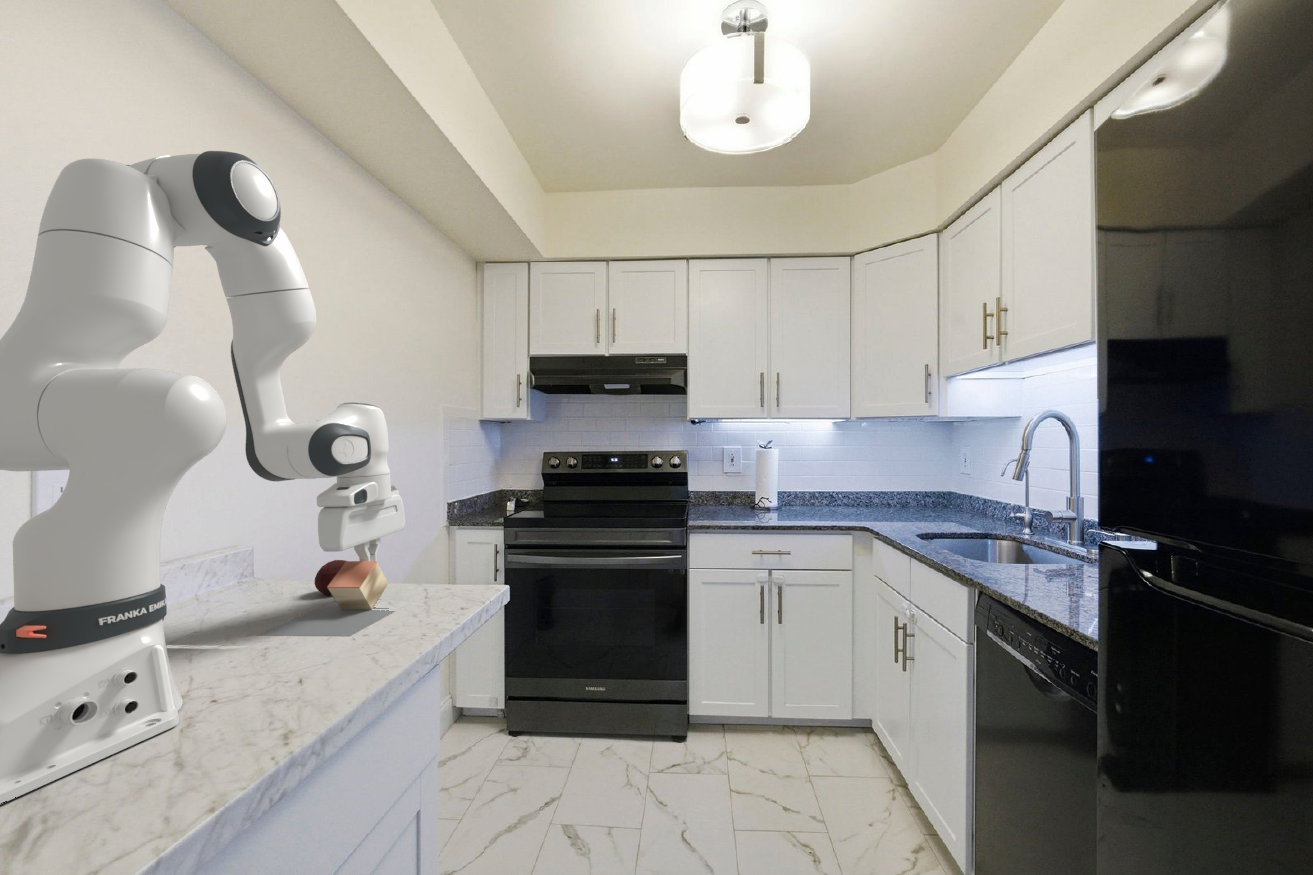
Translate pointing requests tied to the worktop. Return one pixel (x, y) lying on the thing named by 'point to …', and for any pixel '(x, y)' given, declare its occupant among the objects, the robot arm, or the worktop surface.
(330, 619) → the mat
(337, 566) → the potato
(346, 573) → the block
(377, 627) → the worktop surface
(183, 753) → the worktop surface
